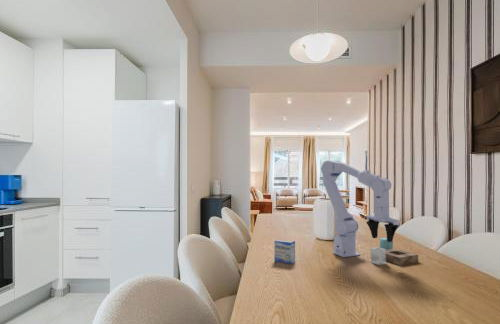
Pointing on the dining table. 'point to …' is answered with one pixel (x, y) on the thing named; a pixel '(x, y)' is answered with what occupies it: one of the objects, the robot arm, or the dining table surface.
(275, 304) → the dining table surface
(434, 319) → the dining table surface
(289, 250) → the medicine box
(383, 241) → the round bit
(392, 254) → the walnut bore block
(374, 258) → the square bit
